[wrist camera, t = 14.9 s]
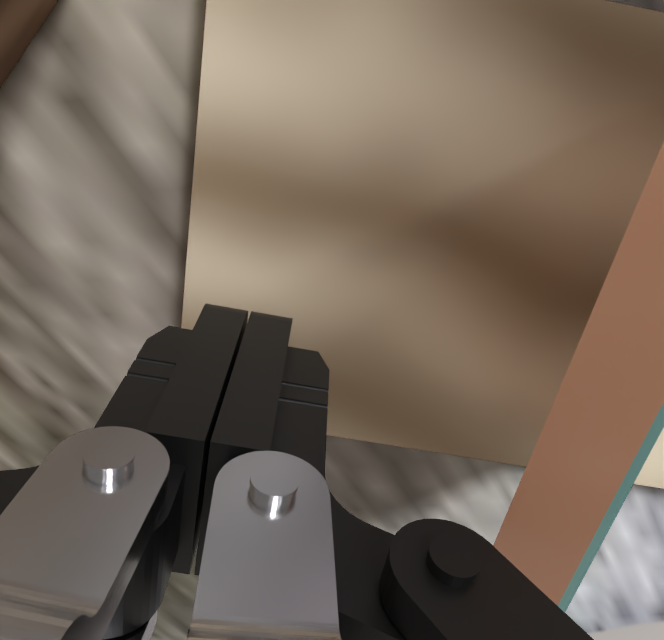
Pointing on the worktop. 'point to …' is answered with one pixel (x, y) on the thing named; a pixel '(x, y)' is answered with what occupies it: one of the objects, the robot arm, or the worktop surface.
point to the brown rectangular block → (19, 29)
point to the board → (425, 198)
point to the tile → (597, 416)
